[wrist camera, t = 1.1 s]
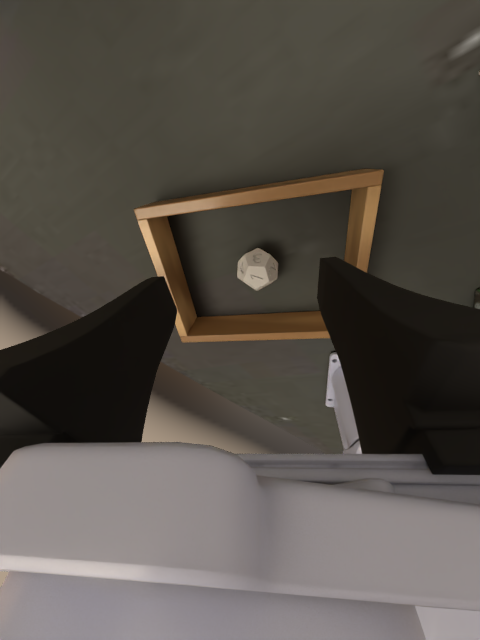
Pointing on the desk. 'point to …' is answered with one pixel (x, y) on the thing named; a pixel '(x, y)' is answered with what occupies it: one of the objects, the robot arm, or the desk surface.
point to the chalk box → (477, 299)
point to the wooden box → (156, 213)
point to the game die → (257, 269)
